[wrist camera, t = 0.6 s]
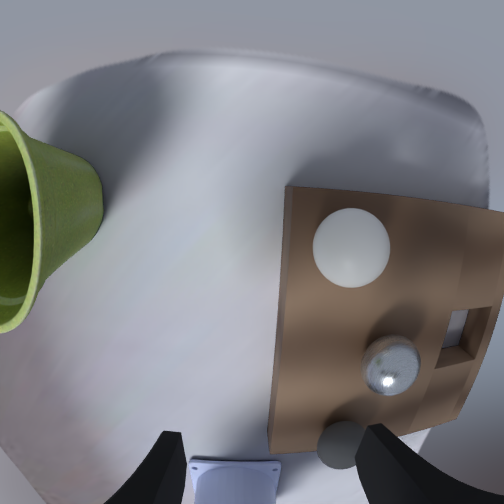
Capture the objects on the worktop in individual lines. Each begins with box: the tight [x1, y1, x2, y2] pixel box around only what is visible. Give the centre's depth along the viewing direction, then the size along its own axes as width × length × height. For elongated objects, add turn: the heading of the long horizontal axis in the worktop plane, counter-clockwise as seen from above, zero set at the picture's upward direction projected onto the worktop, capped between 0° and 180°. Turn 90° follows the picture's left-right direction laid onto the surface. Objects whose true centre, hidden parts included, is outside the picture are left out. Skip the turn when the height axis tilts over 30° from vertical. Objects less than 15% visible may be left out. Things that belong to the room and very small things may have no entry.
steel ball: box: [361, 335, 421, 396], centre depth 14 cm, size 4×4×4 cm
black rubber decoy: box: [317, 421, 365, 469], centre depth 16 cm, size 4×4×4 cm
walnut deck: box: [267, 186, 504, 454], centre depth 17 cm, size 18×17×2 cm
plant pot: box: [0, 110, 104, 333], centre depth 12 cm, size 9×9×9 cm
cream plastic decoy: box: [313, 208, 390, 288], centre depth 13 cm, size 4×4×4 cm
